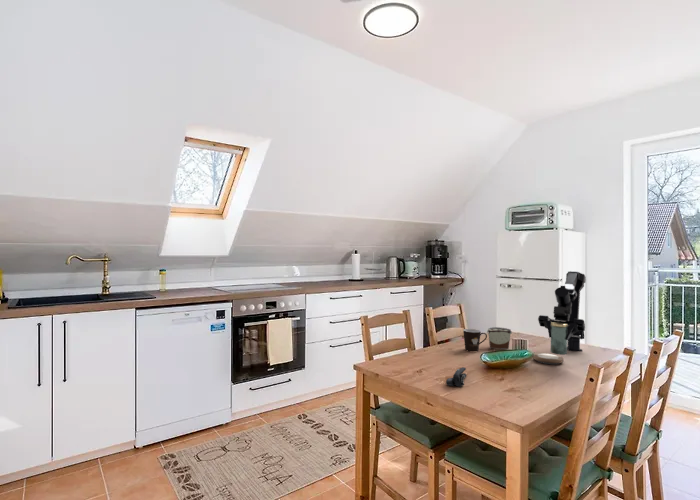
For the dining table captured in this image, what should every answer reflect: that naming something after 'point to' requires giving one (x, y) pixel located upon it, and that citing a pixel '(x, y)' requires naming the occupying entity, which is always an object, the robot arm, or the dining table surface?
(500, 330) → the food container
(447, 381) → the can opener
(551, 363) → the turntable base
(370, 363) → the dining table surface
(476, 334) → the coffee mug
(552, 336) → the tea tin
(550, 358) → the turntable
